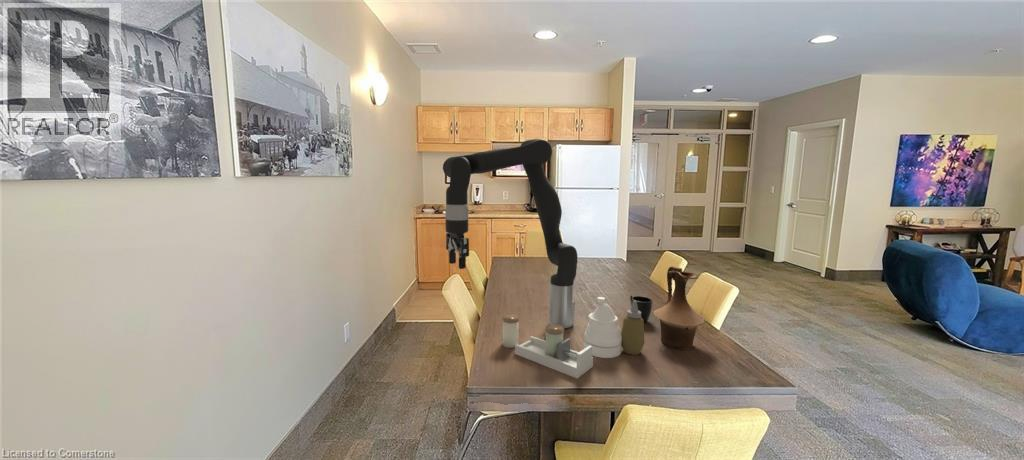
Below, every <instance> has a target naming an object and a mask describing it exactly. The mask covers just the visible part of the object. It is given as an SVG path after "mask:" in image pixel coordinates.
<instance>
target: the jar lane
mask: <svg viewBox="0 0 1024 460" xmlns="http://www.w3.org/2000/svg"><path fill="white" fill-rule="evenodd" d="M529 337H530V339H529V340H527V341H525V342H523V343H521V344H519V343H518V344H516V345H515V347H514V354H515V355H516V356H520V357H521V358H525V359H526V360H530V361H532V362H535V363H537V364H540V365H542V366H545V367H547V368H550V369H552V370H554V371H558V372H560V373H562V374H565V375H568V376H570V377H572V378H575V379H579V378H580V377H582V376H583V375H584V374H586V372H588V371H590V369H592V368H594V367H593V366H594V356H593V355H592V346H590V345H589V346H588V347H586V348H585V349H584V348H583V349H582V350H580V351H577V350H574V349H571V348H570V353H572V354H575V355H576V357H575V358H573V357H570V356H569V357H568V358H567V359H565V360H564V361H561V360H559V359H556V358H553V357H551V356H548V355H545V346H546V339H541V338H539V337H536V336H532V335H531V336H529Z"/></svg>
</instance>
